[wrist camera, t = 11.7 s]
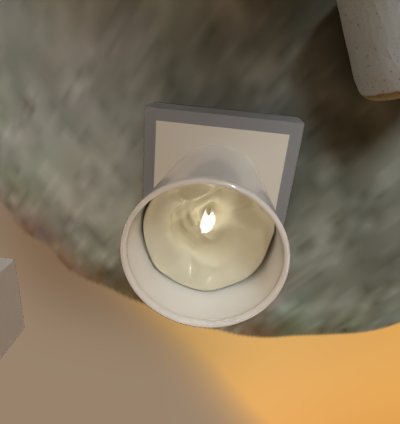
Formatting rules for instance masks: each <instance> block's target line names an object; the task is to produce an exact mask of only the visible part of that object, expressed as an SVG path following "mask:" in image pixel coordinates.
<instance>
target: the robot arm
mask: <svg viewBox="0 0 400 424" xmlns="http://www.w3.org/2000/svg"><path fill="white" fill-rule="evenodd" d="M24 328H25V325H24V318H23V312H22V305H21V298H20V292H19V285H18V279H17V272H16V265H15V260H14V259H7V258H0V359H1V358H2V356H3V355H4V354H5V353H6V351H7V350H8V349H9V347H10V346H11V345H12V343H13V342H14V341H15V340H16V338H17V337H18V336H19V334H20V333H21V332H22V331H23V329H24Z"/></svg>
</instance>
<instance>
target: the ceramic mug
mask: <svg viewBox="0 0 400 424" xmlns="http://www.w3.org/2000/svg"><path fill="white" fill-rule="evenodd" d="M336 2H337V6H338V11H339V15H340V19H341V24H342V29H343V33H344V38H345V42H346V46H347V50H348V54H349V58H350V63H351V69H352V74H353V78H354V81H355V84H356V86H357V88H358V91H359V93H360V94H361V96H363V97H364V98H366V99H368V100H371V101H388V100H394V99H400V0H336Z"/></svg>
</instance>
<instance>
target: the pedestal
mask: <svg viewBox="0 0 400 424" xmlns="http://www.w3.org/2000/svg"><path fill="white" fill-rule="evenodd" d="M303 129H304V123H303V122H302V121H301V120H300V119H299V118H298V117H292V116H282V115H272V114H263V113H253V112H244V111H234V110H225V109H215V108H206V107H196V106H187V105H177V104H168V103H158V102H153V103H151V104H149V105H147V106H145V122H144V160H143V198H145V197H146V196H147V195H148V194H149V193H150V192H151V191H152V190H153V188H154V187H155V186H156V185H157V184H158V183H159V182H160V180H161V179H162V178H163V177H164V176H165V175H166V174H167V172H168V171H169V170H170V169H171V168H172V167H173V166H174V165H175V164H176V162H177V161H178V160H179V159H181V158H182V157H183V156H184V155H185V154H187V153H188V152H190V151H192V150H194V149H196V148H198V147H202V146H206V145H223V146H228V147H231V148H234V149H236V150H238V151H240V152H241V153H243V154H244V155H246V156H247V157H248V158H249V159H250V160H251V161H252V162H253V163H254V165H255V166H256V167H257V169H258V171H259V173H260V175H261V177H262V179H263V182H264V184H265V186H266V189H267V191H268V194H269V196H270V199H271V201H272V204H273V206H274V208H275V211H276V213H277V216H278V218H279V219H280V221H281V223H282V225H283V227H284V222H285V217H286V213H287V208H288V203H289V198H290V193H291V188H292V183H293V178H294V173H295V168H296V164H297V159H298V154H299V149H300V144H301V139H302V134H303Z"/></svg>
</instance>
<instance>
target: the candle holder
mask: <svg viewBox="0 0 400 424" xmlns="http://www.w3.org/2000/svg"><path fill="white" fill-rule="evenodd" d="M120 256H121V262H122V267H123V270H124V273H125V276H126V278H127V280H128V282H129V284H130V285H131V287H132V289H133V290H134V291H135V293H136V294H137V295H138V296H139V298H140V299H141V300H142V301H143V302H144V303H145V304H147V305H148V306H149V307H150V308H151V309H153V310H154V311H156V312H157V313H159V314H160V315H162V316H164V317H166V318H168V319H171V320H173V321H175V322H178V323H181V324H185V325H189V326H194V327H203V328H216V327H225V326H230V325H234V324H237V323H240V322H243V321H245V320H248V319H250V318H252V317H253V316H255V315H257V314H258V313H260V312H261V311H263V310H264V309H265V308H266V307H267V306H268V305H270V304H271V303H272V301H273V300H274V299H275V298H276V297H277V295H278V294H279V292H280V291H281V289H282V287H283V285H284V283H285V281H286V278H287V275H288V271H289V265H290V248H289V242H288V238H287V235H286V232H285V229H284V227H283V225H282V223H281V221H280V219H279V218H278V216H277V213H276V211H275V208H274V206H273V204H272V201H271V199H270V196H269V194H268V191H267V189H266V186H265V184H264V182H263V179H262V177H261V175H260V173H259V171H258V169H257V167H256V166H255V165H254V163H253V162H252V161H251V160H250V159H249V158H248V157H247V156H246V155H244V154H243V153H241V152H240V151H238V150H236V149H234V148H231V147H228V146H223V145H206V146H202V147H198V148H196V149H194V150H192V151H190V152H188V153H187V154H185V155H184V156H183V157H182V158H181V159H179V160H178V161H177V162H176V164H175V165H174V166H173V167H172V168H171V169H170V170H169V171H168V172H167V174H166V175H165V176H164V177H163V178H162V179H161V180H160V182H159V183H158V184H157V185H156V186H155V187H154V188H153V190H152V191H151V192H150V193H149V194H148V195H147V196H146V197H145V198H143V199H142V200H141V201H140V202H139V203H138V204H137V206H136V207H135V208H134V209H133V211H132V212H131V214H130V216H129V217H128V219H127V221H126V223H125V226H124V229H123V232H122V236H121V243H120Z"/></svg>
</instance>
